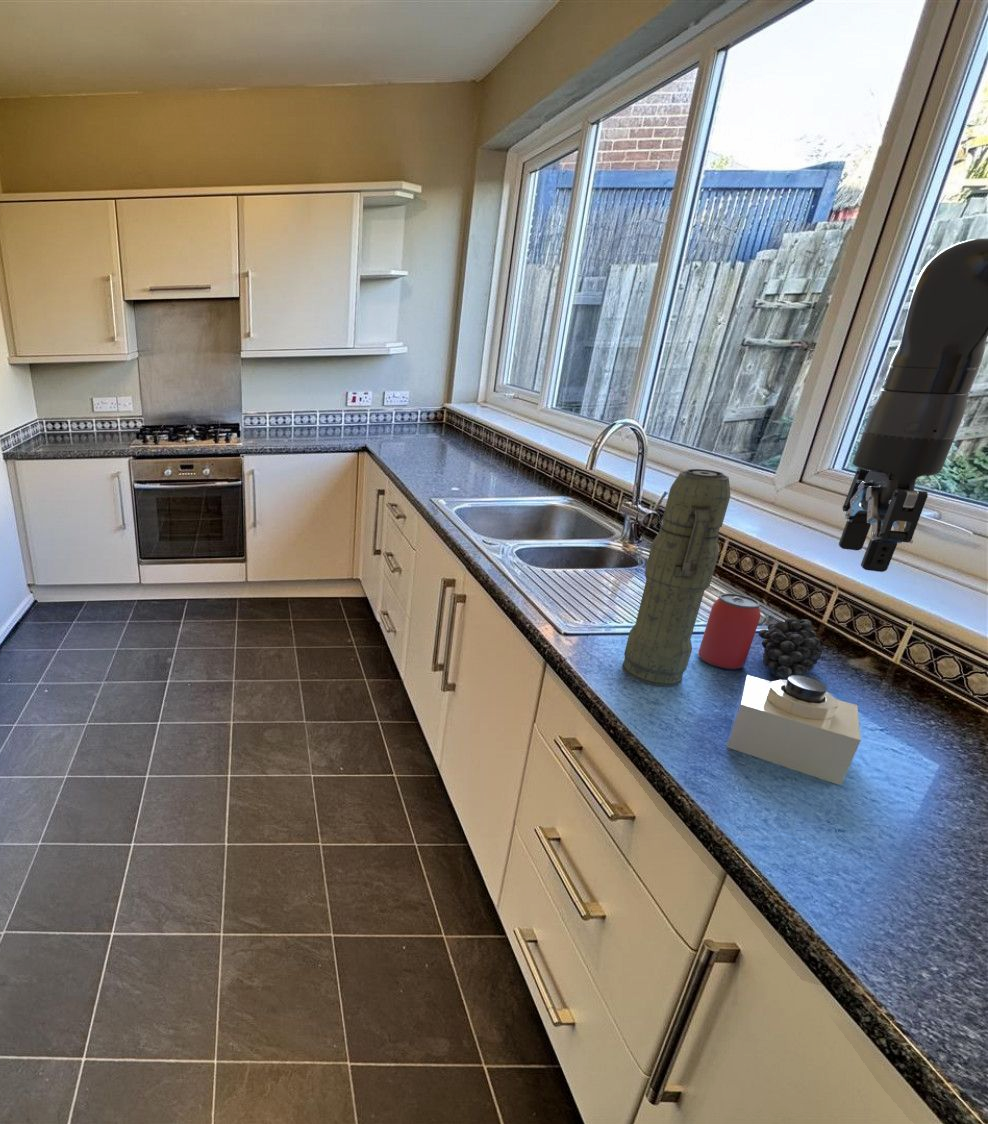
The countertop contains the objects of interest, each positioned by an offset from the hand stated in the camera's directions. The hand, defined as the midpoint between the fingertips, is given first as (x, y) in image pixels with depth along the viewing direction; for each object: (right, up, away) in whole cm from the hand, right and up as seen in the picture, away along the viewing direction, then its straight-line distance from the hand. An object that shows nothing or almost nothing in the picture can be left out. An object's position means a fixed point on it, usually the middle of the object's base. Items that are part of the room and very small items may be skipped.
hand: (860, 558), depth 78 cm
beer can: (+6, -18, +31) cm, 36 cm away
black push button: (-2, -19, +5) cm, 20 cm away
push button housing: (-2, -27, +9) cm, 28 cm away
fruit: (+14, -19, +28) cm, 36 cm away
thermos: (-8, -20, +27) cm, 35 cm away
